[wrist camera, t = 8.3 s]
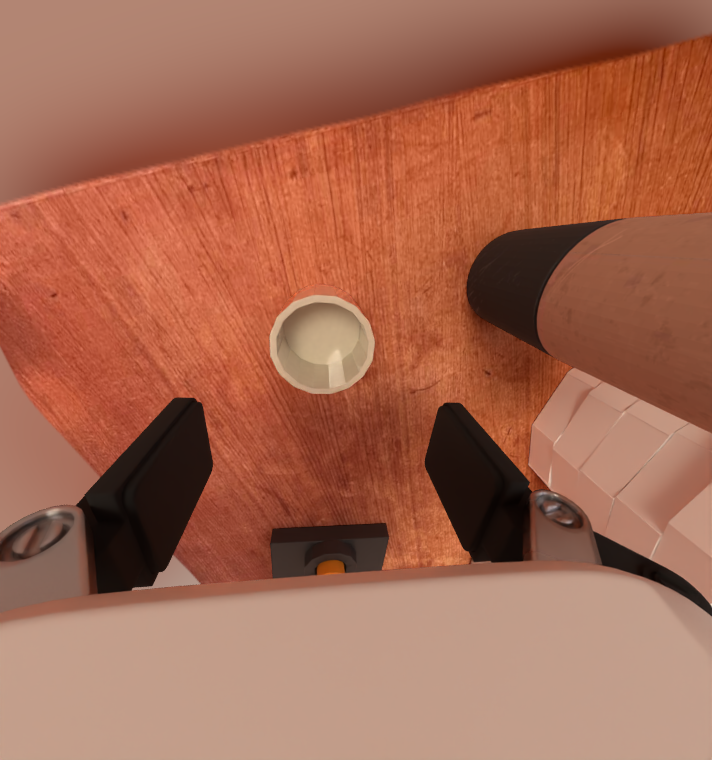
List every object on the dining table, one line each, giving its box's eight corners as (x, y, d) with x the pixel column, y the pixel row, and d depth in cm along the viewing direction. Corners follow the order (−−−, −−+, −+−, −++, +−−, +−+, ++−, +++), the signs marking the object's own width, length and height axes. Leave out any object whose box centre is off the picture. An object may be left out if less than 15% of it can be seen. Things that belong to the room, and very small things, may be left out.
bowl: (280, 364, 24) (271, 393, 19) (278, 280, 21) (266, 291, 16) (359, 367, 25) (368, 395, 20) (368, 287, 22) (380, 299, 17)
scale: (277, 600, 40) (273, 630, 37) (272, 528, 33) (267, 558, 30) (371, 592, 42) (375, 620, 39) (385, 522, 35) (392, 550, 32)
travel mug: (542, 204, 20) (2013, -36, 3) (559, 295, 24) (1258, 452, 6) (449, 261, 21) (1075, 356, 4) (478, 340, 25) (876, 587, 7)
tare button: (316, 575, 33) (316, 589, 32) (317, 559, 32) (317, 573, 30) (343, 573, 33) (344, 587, 32) (345, 557, 32) (346, 571, 31)
